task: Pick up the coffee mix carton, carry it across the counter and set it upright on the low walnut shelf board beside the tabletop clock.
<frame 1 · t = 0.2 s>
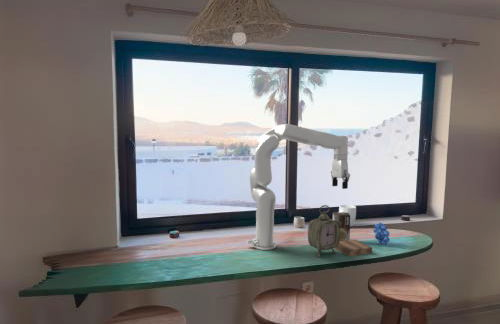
hand: (339, 187, 195), 31 cm above the table, tool pointing down, fingers open, 9 cm apart
walnut shelf: (352, 250, 179), on the table
mug: (345, 226, 228), on the table
coffee box: (340, 241, 194), on the table
grapes: (379, 244, 190), on the table
tabletop clock: (322, 254, 173), on the table
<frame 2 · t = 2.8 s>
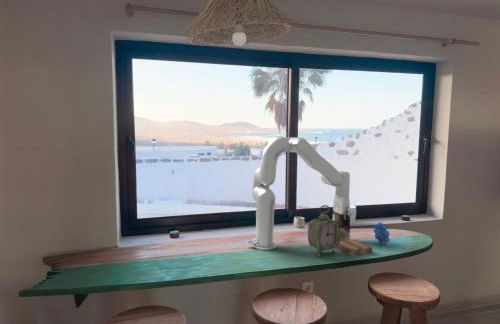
hand: (341, 223, 193), 10 cm above the table, tool pointing down, fingers closed on coffee box, 8 cm apart
coffee box: (340, 241, 194), on the table, touching gripper
everything else where it was.
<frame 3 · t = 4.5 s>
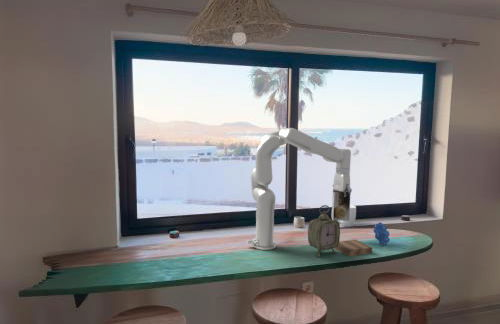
hand: (341, 201, 192), 23 cm above the table, tool pointing down, fingers closed on coffee box, 8 cm apart
coffee box: (339, 219, 193), point 13 cm above the table, touching gripper
everything else where it was.
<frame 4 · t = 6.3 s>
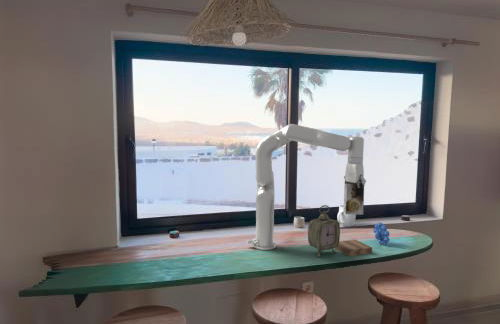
hand: (353, 194, 177), 30 cm above the table, tool pointing down, fingers closed on coffee box, 8 cm apart
coffee box: (353, 213, 178), point 19 cm above the table, touching gripper
everything else where it was.
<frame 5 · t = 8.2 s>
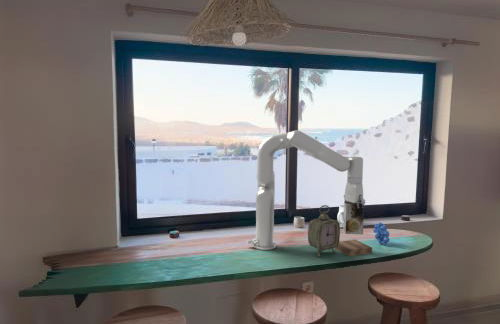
hand: (353, 213, 178), 20 cm above the table, tool pointing down, fingers closed on coffee box, 8 cm apart
coffee box: (352, 233, 178), point 9 cm above the table, touching gripper
everything else where it was.
when the fingers open (14 cm above the table, at t = 9.9 s): coffee box drops 1 cm, resting on walnut shelf.
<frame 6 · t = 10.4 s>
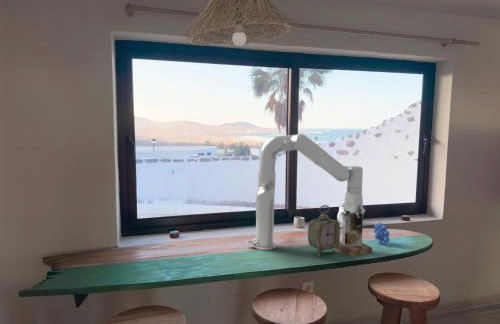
hand: (353, 222, 178), 15 cm above the table, tool pointing down, fingers open, 9 cm apart
coffee box: (351, 244, 179), point 3 cm above the table, touching walnut shelf
everything else where it was.
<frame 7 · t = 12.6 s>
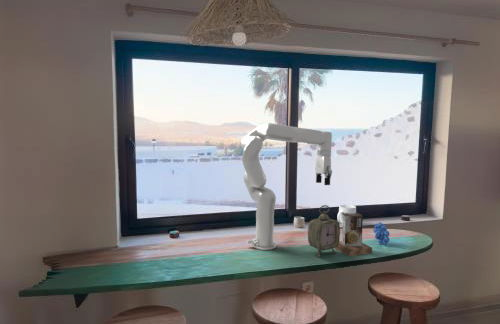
hand: (322, 183, 193), 33 cm above the table, tool pointing down, fingers open, 9 cm apart
nothing on the table moved.
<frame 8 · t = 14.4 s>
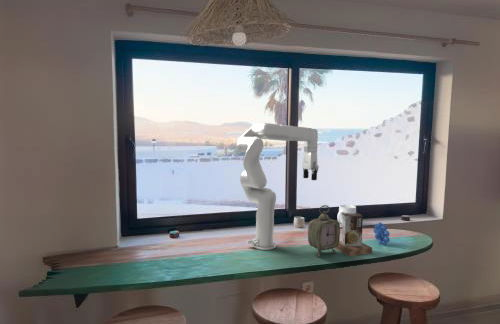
hand: (309, 179, 200), 34 cm above the table, tool pointing down, fingers open, 9 cm apart
nothing on the table moved.
at the end: coffee box inside the target area on the walnut shelf (0.4 cm from its centre), point 2.8 cm above the walnut shelf's base; coffee box tilted 0°; the gripper is holding nothing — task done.
